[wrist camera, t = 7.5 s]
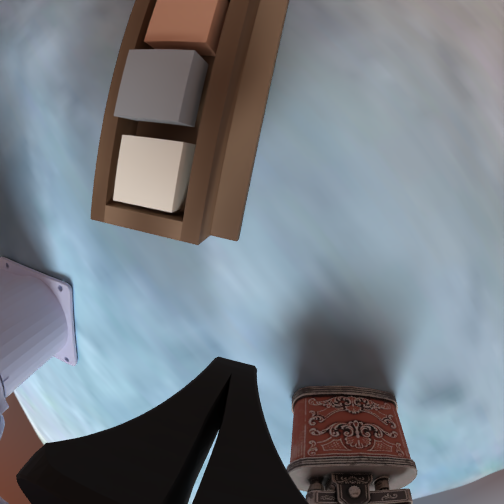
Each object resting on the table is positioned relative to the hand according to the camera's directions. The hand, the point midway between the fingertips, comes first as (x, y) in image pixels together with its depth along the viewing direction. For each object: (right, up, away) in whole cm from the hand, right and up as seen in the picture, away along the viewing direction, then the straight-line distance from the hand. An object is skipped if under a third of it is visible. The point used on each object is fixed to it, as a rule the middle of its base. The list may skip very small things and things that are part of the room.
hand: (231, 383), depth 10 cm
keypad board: (-3, +13, +7) cm, 16 cm away
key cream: (-4, +9, +8) cm, 13 cm away
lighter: (+8, -7, +11) cm, 15 cm away
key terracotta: (-3, +18, +5) cm, 18 cm away
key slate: (-4, +13, +5) cm, 15 cm away
